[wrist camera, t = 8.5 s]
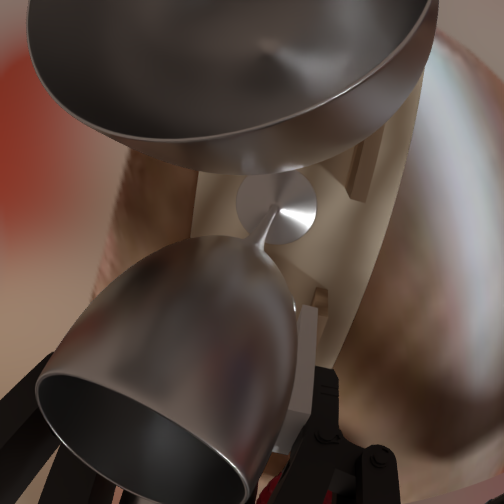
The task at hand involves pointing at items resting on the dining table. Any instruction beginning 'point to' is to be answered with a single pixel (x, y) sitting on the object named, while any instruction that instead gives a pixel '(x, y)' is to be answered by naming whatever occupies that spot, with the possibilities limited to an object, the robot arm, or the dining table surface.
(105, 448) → the goblet set
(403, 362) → the dining table surface
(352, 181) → the glass rack
